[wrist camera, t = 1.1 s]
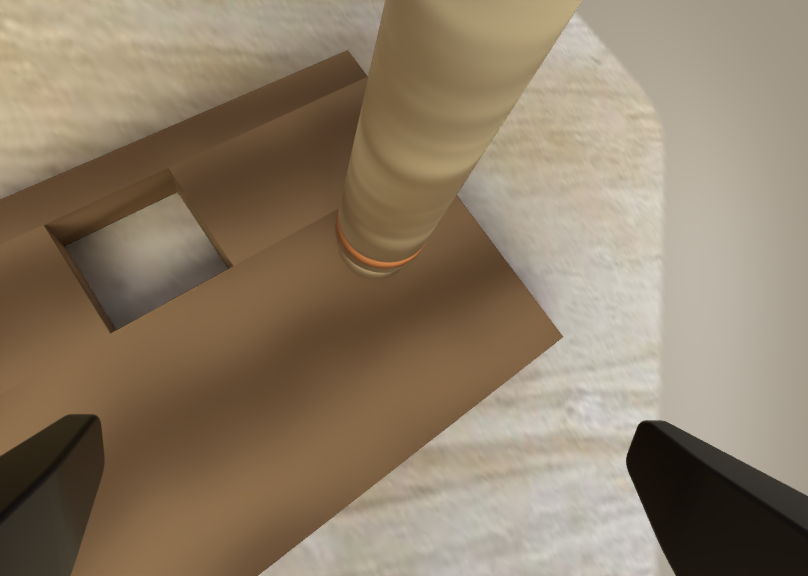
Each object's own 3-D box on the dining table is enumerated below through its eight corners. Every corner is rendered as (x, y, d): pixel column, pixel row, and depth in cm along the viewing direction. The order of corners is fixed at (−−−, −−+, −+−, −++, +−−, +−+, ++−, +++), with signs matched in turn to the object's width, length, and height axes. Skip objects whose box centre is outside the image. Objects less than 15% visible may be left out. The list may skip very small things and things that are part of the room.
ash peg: (431, 258, 22) (726, -149, 8) (363, 301, 21) (554, -81, 6) (383, 193, 23) (573, -311, 8) (314, 232, 22) (387, -278, 7)
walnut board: (541, 346, 24) (563, 337, 23) (45, 731, 17) (16, 764, 15) (343, 79, 27) (347, 50, 25) (-177, 313, 19) (-226, 297, 17)
